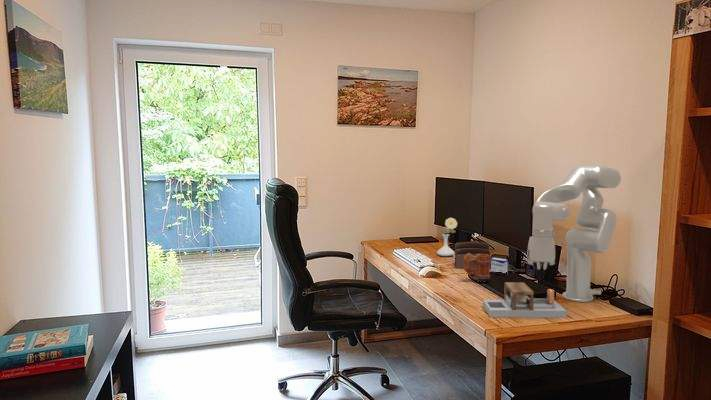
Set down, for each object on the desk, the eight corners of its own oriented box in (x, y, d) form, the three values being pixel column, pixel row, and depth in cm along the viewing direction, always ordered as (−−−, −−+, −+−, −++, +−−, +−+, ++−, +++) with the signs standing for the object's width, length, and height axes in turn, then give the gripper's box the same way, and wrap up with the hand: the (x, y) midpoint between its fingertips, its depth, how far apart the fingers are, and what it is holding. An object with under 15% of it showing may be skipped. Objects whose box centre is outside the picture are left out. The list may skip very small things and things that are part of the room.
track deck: (554, 306, 191) (554, 300, 191) (566, 318, 178) (566, 310, 178) (482, 306, 193) (483, 299, 193) (489, 317, 180) (490, 310, 180)
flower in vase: (435, 257, 287) (435, 218, 284) (437, 253, 297) (437, 216, 295) (456, 258, 283) (456, 219, 280) (457, 254, 294) (458, 216, 291)
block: (522, 303, 188) (522, 291, 187) (526, 307, 183) (526, 295, 182) (510, 302, 188) (510, 291, 188) (513, 306, 183) (514, 295, 183)
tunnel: (523, 299, 192) (523, 282, 191) (533, 310, 179) (533, 291, 178) (504, 299, 192) (504, 282, 191) (512, 310, 179) (513, 291, 179)
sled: (550, 301, 189) (550, 287, 188) (557, 307, 181) (557, 292, 180) (505, 301, 190) (505, 286, 189) (510, 307, 182) (511, 292, 181)
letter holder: (454, 264, 267) (454, 241, 266) (488, 265, 264) (489, 241, 263) (455, 268, 258) (456, 244, 256) (491, 269, 254) (491, 245, 253)
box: (490, 274, 245) (490, 258, 244) (493, 272, 248) (493, 257, 247) (504, 276, 240) (504, 260, 239) (507, 274, 243) (508, 259, 242)
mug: (488, 279, 234) (488, 251, 233) (493, 283, 226) (494, 254, 225) (460, 280, 234) (460, 251, 232) (464, 284, 226) (465, 255, 224)
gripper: (557, 233, 185) (555, 276, 187) (520, 232, 186) (518, 275, 188) (564, 236, 178) (562, 281, 179) (526, 235, 179) (524, 280, 180)
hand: (540, 278), depth 183 cm, fingers closed
